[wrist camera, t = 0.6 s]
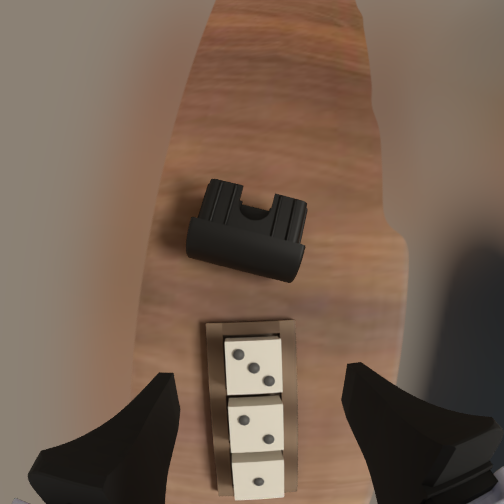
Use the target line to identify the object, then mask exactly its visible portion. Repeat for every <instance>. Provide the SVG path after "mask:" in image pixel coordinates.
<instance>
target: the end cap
mask: <svg viewBox="0 0 504 504" xmlns="http://www.w3.org/2000/svg"><path fill="white" fill-rule="evenodd" d="M242 190H243V185H239V184H235V183H231V182H226V181H222V180H218V179H211V181H210V183H209V184H208V186H207V189H206V193H205V196H204V199H203V202H202V206H201V209H200V212H199V216H198V218H195V217H191V220H190V224H189V229H188V234H187V240H186V253H187V256H188V257H190V258H193V259H197V260H201V261H205V262H209V263H212V264H216V265H220V266H224V267H228V268H232V269H236V270H240V271H244V272H248V273H252V274H255V275H259V276H263V277H267V278H271V279H275V280H279V281H284V282H288V283H291V282H292V281H293V280H294V279H295V277H296V275H297V272H298V270H299V267H300V264H301V261H302V258H303V254H304V250H305V245H302V244H300V242H301V238H302V233H303V229H304V224H305V219H306V214H307V203H306V202H304V201H301V200H298V199H294V198H290V197H287V196H283V195H279V194H275V196H274V200H273V204H272V208H270V210H269V211H266V210H262V209H258V208H254V207H250V206H246V205H242V201H240V197H241V193H242Z"/></svg>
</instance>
